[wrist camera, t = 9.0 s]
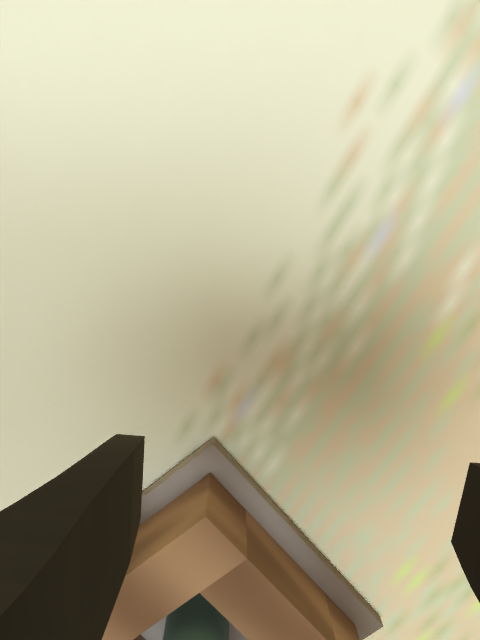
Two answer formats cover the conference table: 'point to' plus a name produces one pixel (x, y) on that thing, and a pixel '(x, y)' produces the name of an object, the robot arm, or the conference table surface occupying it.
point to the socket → (231, 562)
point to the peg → (196, 622)
